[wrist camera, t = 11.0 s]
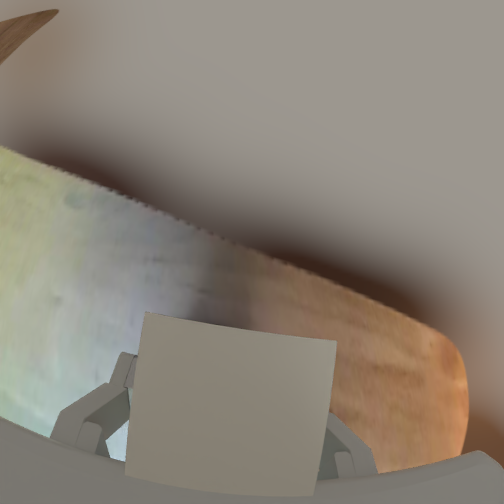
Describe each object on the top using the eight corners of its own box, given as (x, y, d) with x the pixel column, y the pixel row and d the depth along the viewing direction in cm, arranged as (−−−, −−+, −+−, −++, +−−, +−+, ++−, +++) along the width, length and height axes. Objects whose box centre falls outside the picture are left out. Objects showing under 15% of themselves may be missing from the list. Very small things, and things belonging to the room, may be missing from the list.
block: (246, 424, 16) (310, 509, 6) (167, 412, 16) (123, 491, 5) (257, 348, 18) (337, 340, 7) (178, 335, 17) (145, 311, 7)
